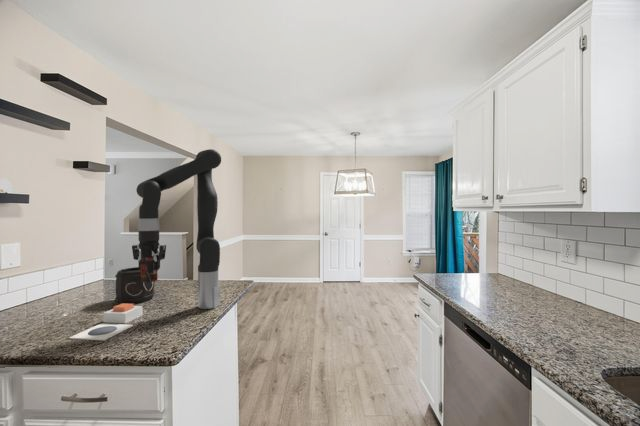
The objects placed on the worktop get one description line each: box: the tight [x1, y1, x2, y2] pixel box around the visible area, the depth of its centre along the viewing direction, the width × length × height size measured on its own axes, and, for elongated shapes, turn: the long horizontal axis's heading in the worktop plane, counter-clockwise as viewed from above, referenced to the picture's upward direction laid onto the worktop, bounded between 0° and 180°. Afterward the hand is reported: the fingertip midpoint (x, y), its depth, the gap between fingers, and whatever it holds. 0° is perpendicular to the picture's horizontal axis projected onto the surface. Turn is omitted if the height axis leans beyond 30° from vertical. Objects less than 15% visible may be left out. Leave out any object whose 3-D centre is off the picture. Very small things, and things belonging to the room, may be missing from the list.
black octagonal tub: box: [114, 266, 156, 305], centre depth 158 cm, size 18×18×16 cm
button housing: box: [102, 305, 144, 324], centre depth 130 cm, size 10×10×4 cm
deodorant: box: [140, 245, 159, 282], centre depth 126 cm, size 6×6×15 cm
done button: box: [112, 303, 135, 312], centre depth 130 cm, size 5×5×3 cm
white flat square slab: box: [68, 322, 134, 341], centre depth 116 cm, size 14×14×1 cm
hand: (149, 269), depth 126 cm, fingers closed on deodorant, 6 cm apart
